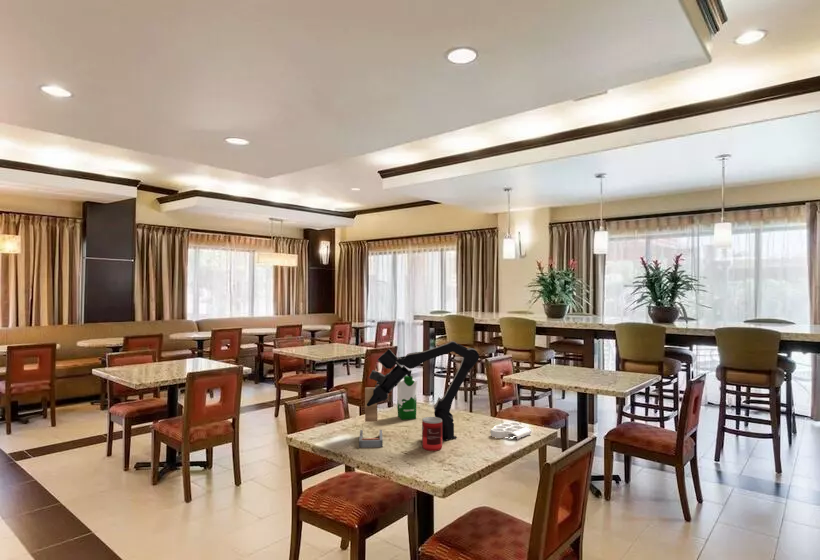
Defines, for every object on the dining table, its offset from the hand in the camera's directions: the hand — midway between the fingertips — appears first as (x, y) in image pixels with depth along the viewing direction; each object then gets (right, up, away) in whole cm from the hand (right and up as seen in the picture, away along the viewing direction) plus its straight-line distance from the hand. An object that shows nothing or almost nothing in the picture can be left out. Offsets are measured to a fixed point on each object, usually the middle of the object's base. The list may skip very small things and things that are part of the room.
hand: (367, 404), depth 201 cm
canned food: (+26, -13, -15) cm, 33 cm away
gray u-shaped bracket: (+2, -13, -7) cm, 15 cm away
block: (+1, -7, 0) cm, 7 cm away
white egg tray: (+60, -14, +4) cm, 61 cm away
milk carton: (+16, -15, +31) cm, 38 cm away
